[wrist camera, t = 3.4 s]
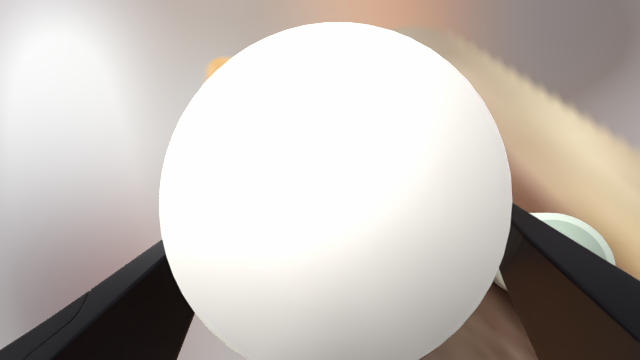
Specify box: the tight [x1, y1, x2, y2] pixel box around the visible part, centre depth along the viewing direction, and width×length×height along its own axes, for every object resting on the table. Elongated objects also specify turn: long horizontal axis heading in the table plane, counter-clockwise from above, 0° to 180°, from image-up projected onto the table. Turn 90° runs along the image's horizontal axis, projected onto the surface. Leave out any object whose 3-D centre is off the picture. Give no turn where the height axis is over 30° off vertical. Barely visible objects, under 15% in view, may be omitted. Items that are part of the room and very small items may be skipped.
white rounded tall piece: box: [159, 22, 512, 360], centre depth 10 cm, size 7×7×12 cm
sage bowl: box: [493, 213, 616, 291], centre depth 13 cm, size 4×4×3 cm
